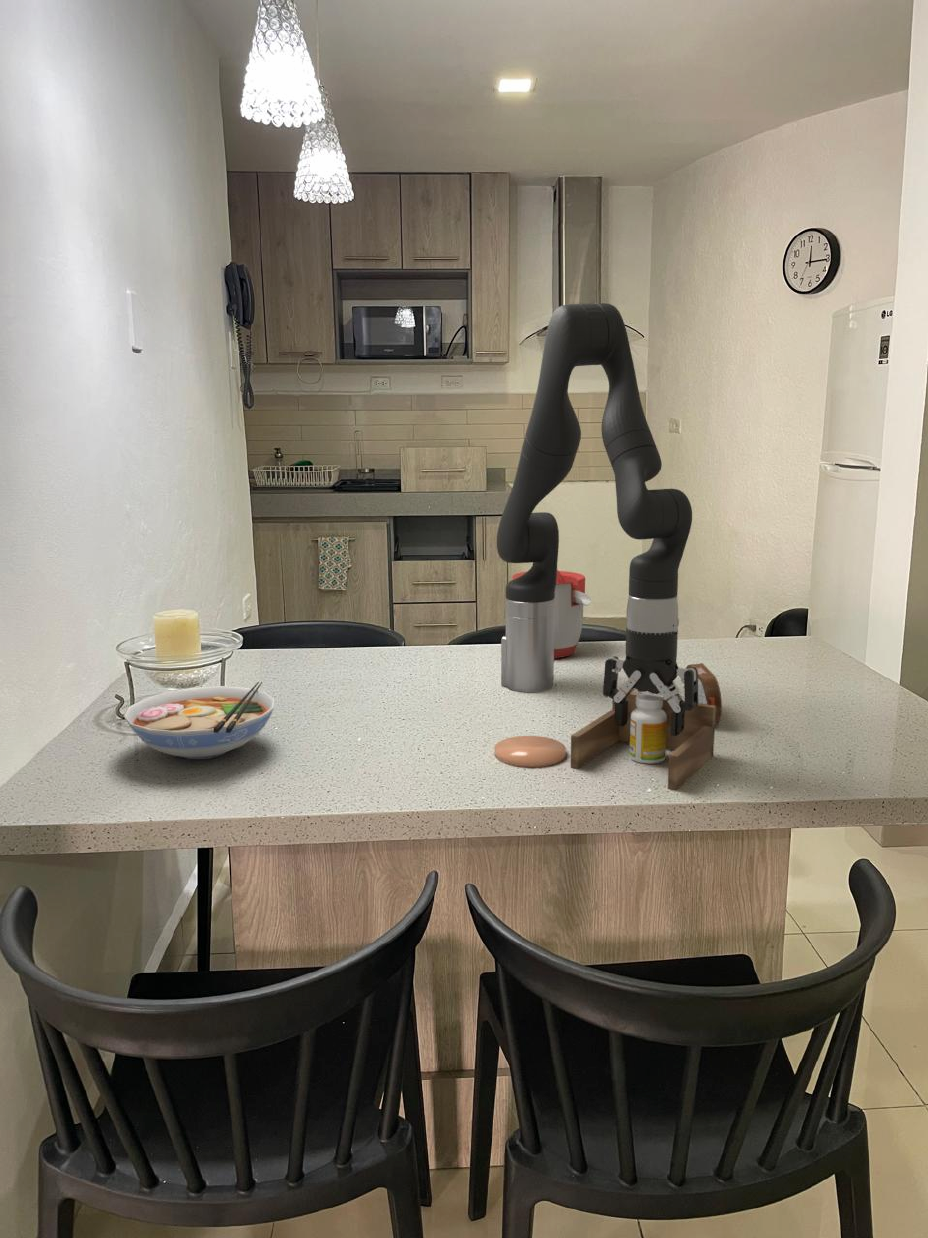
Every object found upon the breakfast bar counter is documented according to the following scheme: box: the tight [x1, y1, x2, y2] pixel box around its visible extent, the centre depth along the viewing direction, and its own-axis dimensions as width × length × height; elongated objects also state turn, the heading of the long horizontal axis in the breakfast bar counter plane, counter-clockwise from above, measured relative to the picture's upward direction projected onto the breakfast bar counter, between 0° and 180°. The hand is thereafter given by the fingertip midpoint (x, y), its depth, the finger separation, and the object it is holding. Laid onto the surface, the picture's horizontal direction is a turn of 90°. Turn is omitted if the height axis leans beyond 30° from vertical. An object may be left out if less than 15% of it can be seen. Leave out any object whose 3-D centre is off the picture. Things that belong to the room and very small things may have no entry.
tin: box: [685, 662, 723, 724], centre depth 164 cm, size 15×3×8 cm, turn 1°
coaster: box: [494, 735, 567, 768], centre depth 147 cm, size 11×11×1 cm
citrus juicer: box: [511, 569, 592, 660], centre depth 204 cm, size 16×17×20 cm
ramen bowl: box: [123, 681, 275, 760], centre depth 148 cm, size 25×23×8 cm
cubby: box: [570, 691, 716, 791], centre depth 143 cm, size 16×16×8 cm
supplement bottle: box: [629, 693, 667, 765], centre depth 144 cm, size 5×5×10 cm
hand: (648, 729), depth 144 cm, fingers open, 8 cm apart
